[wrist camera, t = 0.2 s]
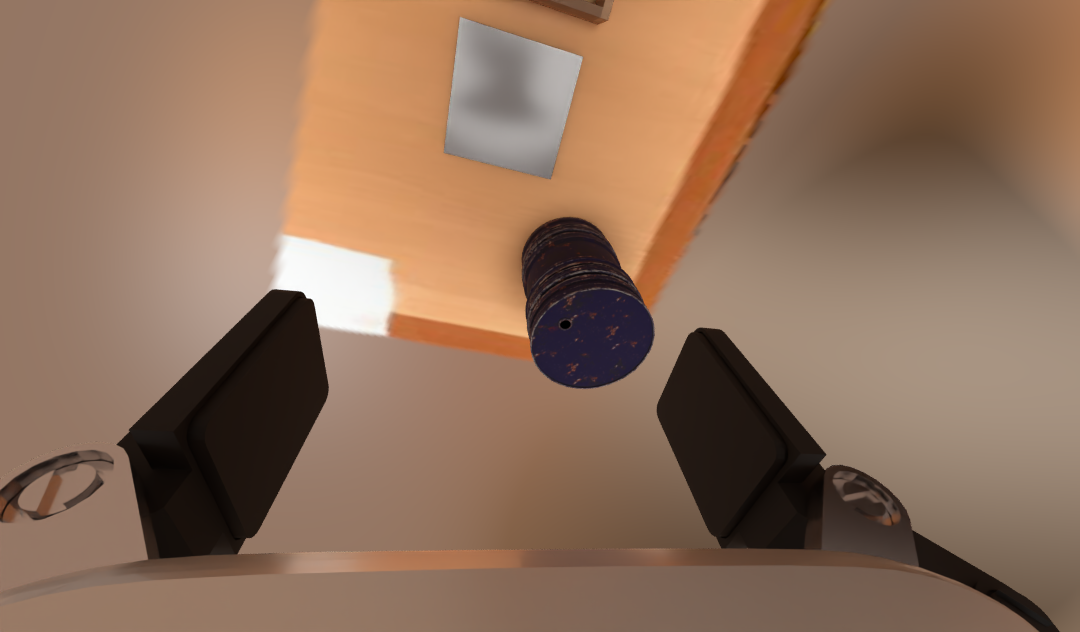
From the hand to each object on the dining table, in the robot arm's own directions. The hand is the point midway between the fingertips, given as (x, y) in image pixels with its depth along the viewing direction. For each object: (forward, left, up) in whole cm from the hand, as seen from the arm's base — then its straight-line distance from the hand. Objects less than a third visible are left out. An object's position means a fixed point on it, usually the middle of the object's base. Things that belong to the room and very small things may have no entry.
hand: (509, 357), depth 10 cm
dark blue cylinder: (+10, +9, -31) cm, 33 cm away
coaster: (-3, 0, -31) cm, 31 cm away
